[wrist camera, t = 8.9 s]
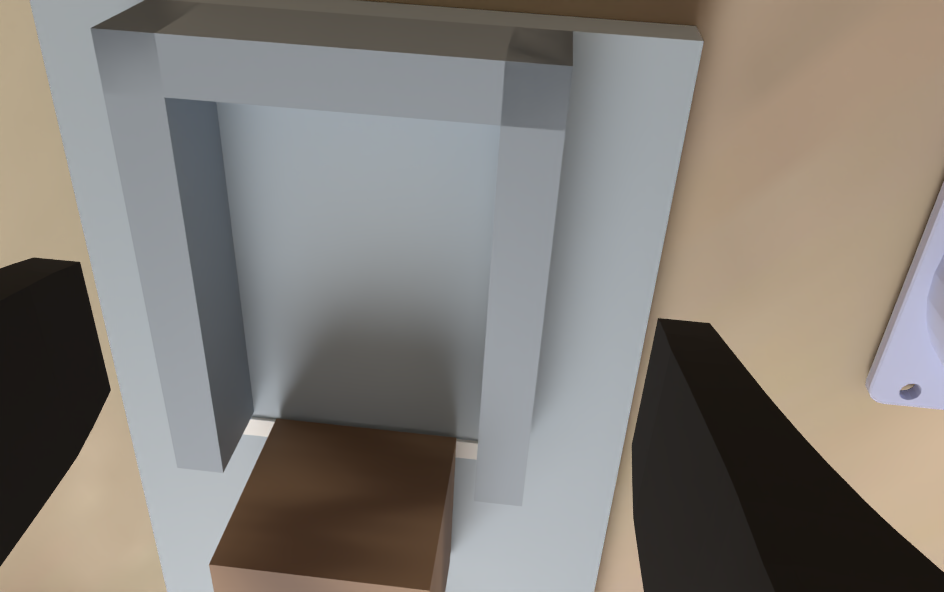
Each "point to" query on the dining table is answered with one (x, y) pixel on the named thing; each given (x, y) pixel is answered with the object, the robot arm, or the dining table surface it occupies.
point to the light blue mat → (375, 248)
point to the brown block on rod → (341, 513)
